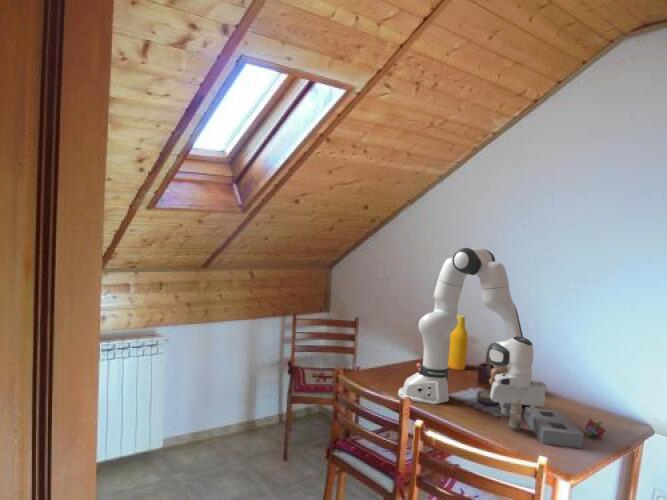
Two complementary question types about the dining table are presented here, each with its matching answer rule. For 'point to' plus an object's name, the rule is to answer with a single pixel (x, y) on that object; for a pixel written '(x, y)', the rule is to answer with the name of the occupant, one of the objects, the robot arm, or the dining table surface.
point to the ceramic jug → (497, 372)
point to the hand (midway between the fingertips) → (516, 414)
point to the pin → (515, 416)
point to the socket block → (554, 428)
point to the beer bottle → (458, 345)
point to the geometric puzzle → (595, 429)
